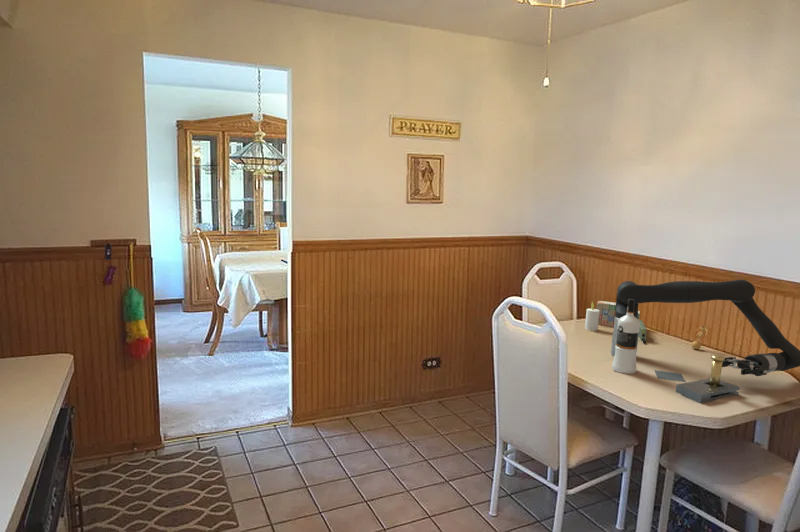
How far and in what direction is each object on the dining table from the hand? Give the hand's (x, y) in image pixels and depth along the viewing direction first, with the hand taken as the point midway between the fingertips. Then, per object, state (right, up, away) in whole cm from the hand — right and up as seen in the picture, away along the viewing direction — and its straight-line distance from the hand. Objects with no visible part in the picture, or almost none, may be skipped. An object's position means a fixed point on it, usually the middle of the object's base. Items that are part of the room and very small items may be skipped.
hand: (731, 368), depth 202 cm
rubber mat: (-16, -6, +14) cm, 22 cm away
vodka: (-32, -5, +19) cm, 38 cm away
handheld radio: (-3, +2, +69) cm, 69 cm away
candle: (-24, +5, +80) cm, 84 cm away
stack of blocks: (-7, +5, +90) cm, 90 cm away
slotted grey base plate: (-11, -9, -3) cm, 15 cm away
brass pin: (-7, -9, -1) cm, 12 cm away
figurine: (+16, -1, +52) cm, 55 cm away
